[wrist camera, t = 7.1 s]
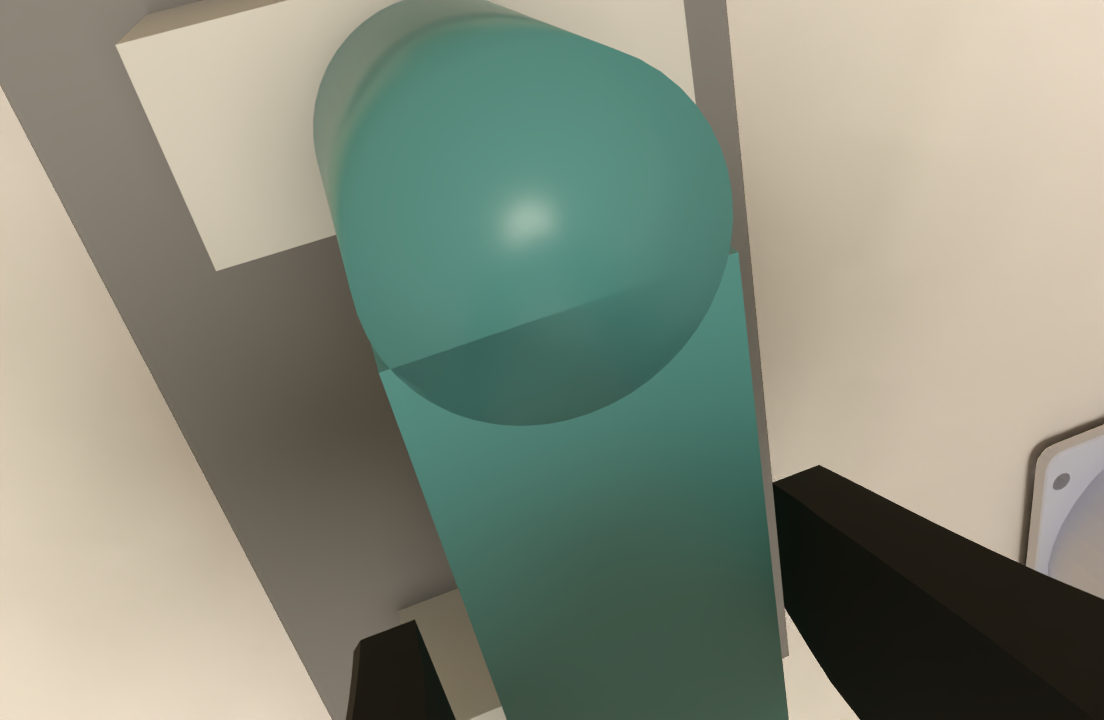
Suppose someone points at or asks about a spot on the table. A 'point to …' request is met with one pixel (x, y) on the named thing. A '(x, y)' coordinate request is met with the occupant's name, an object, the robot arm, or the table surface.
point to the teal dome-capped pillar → (561, 355)
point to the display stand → (291, 283)
